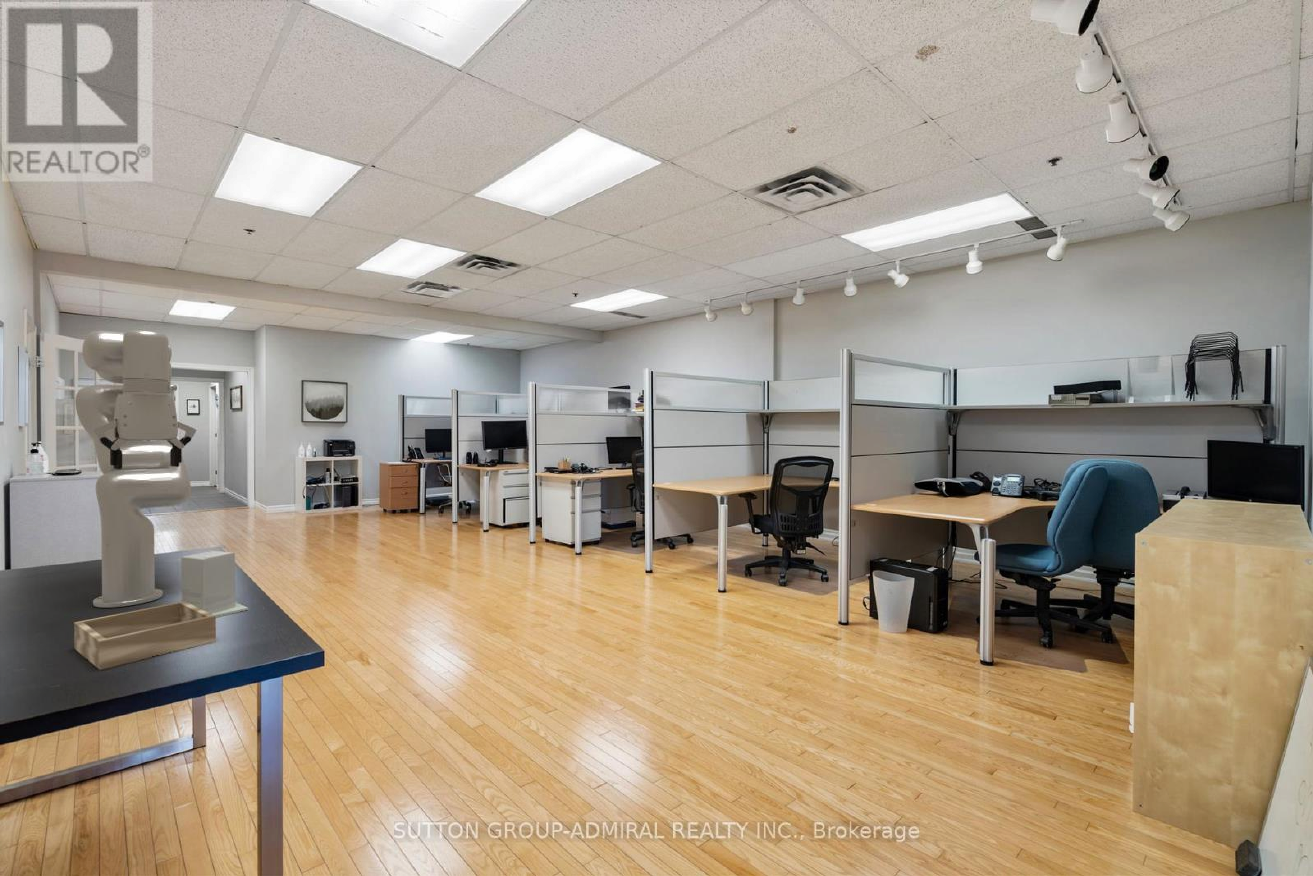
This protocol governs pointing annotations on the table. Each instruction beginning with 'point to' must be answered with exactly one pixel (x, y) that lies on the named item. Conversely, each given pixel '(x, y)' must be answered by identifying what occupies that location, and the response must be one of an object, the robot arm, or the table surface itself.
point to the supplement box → (209, 580)
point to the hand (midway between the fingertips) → (147, 467)
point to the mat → (230, 610)
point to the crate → (143, 634)
